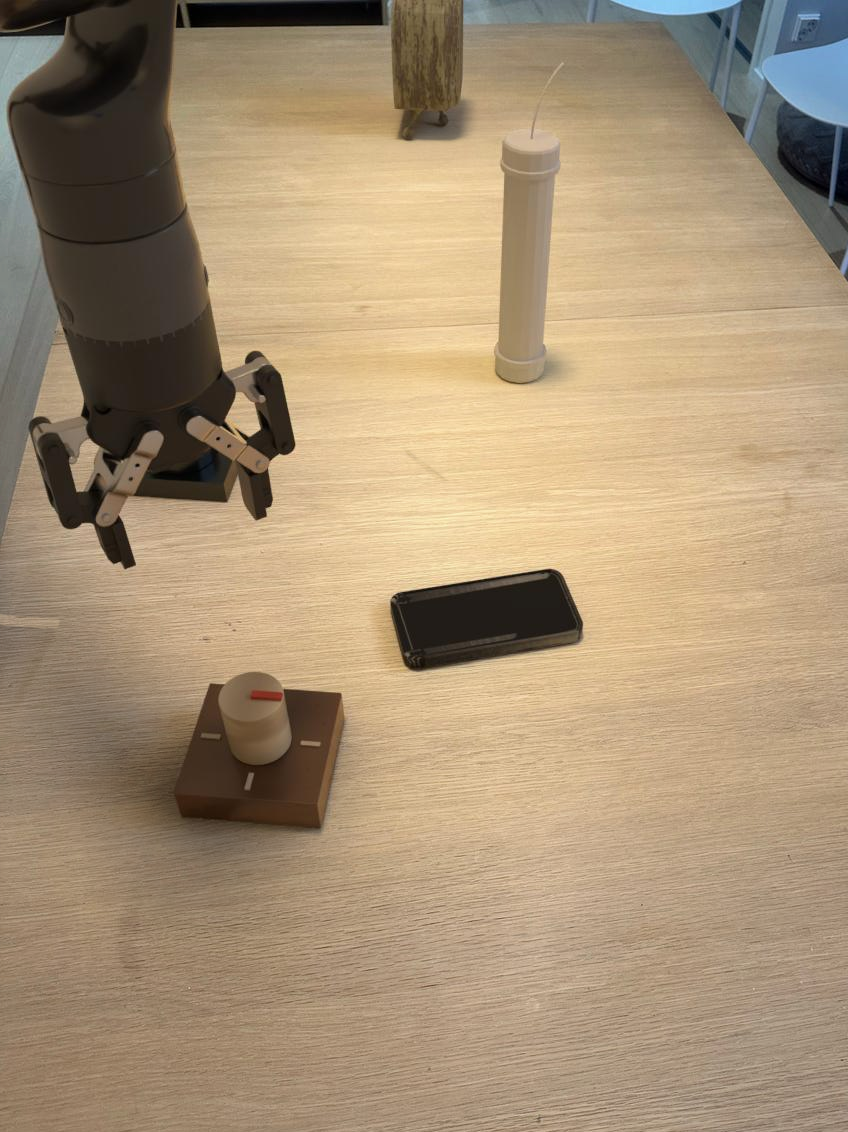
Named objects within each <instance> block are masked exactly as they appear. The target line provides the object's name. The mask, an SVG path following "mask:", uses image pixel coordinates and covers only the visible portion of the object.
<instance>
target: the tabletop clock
mask: <svg viewBox="0 0 848 1132" xmlns="http://www.w3.org/2000/svg"><path fill="white" fill-rule="evenodd" d="M390 37H391V39H390V40H391V41H390V42H391V69H392V70H391V72H392V90H393V91H392V93H393V106H394V109H395V110H412V113H411V117H410V119H409V124H408V126H405V127H404V128H403V129H402V135H403V137H404V138H405V139H407V140H409V139H411V138H413V137H414V135H415V131H414V128H413V127H414V125H415V124H416V121H417V120H418V117H419V115H420V114H421V113H423V111H436V112H437V111H438V113H439V115H438V116H437V122H438V124H439V125H440V126H442V127H444V126H446V125H448V124H449V116H448V115H447V114H445V113H444V112H446V111H448V110H451V109H452V108H454V107H457V106H458V105H459V104H460V102H461V95H462V88H463V87H462V85H463V76H464V75H463V71H464V70H463V69H464V0H391V8H390Z"/></svg>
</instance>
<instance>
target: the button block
mask: <svg viewBox="0 0 848 1132" xmlns="http://www.w3.org/2000/svg"><path fill="white" fill-rule="evenodd" d="M237 478H238V472H237V467H236V462H235V461H233V460H231V459H229V458H228V457H226V456H225V455H223V454H222V453H220V452H219V451H217V450H216V449H214V448H213V447H210V448H209V449H208V450H207V451H206V452H204V457H203V458H200V459H197V460H194V461H189V462H180V463H177V464H175V465H173V466H172V467H170V468H168V469H167V470H164V471H161V472H158V473H155V474H152V472H151V471H146V472H145V474H144V476H143V478H142V480H141V482H140V484H139V486H138V488H137V490H136V492H135V494H134V495H133V496H132V497H144V498H145V497H146V498H158V499H159V498H161V499H176V500H189V501H205V502H219V503H228V501H229V498H230V496H231V493H232V491H233V488H234V485H235V482H236V480H237Z"/></svg>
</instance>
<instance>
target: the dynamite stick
mask: <svg viewBox="0 0 848 1132" xmlns="http://www.w3.org/2000/svg"><path fill="white" fill-rule="evenodd" d="M564 65H565V62H564V61H561V63H560V64H559V65H558V66H557V67H556V69H555V70H554V72H552V74H551V76H550V77H549V79H548V81H547V82H546V84H545V86H544V88H543V89H542V92H541V95H540V97H539V99H538V102H537V105H536V108H535V112H534V116H533V119H532V124H531V127H530V128H520V129H515V130H512V131H510V132H508V133H506V134H505V136H504V137H503V139H502V145H501V146H502V147H501V158H500V160H499V161H500V162H499V167H500V170H501V171H502V172H503V173H504V174H503V178H504V179H503V199H502V201H503V202H502V204H503V205H502V228H501V229H502V230H501V231H502V232H501V256H500V259H501V260H500V286H499V311H498V312H499V313H498V341H497V342H496V344H495V346H494V347H493V353H494V357H495V358H494V368H495V372H496V374H497V375H498V376H499V377H500V378H501V379H503V380H506V381H507V382H510V383H518V384H522V383H524V384H525V383H530V382H533V381H536V380H538V379H539V378H540V377H541V376H542V375H543V372H544V370H545V362H546V361H545V360H546V357H547V353H548V352H547V348H546V345H545V344H544V337H545V323H546V312H547V311H546V309H547V296H548V281H549V267H550V251H551V239H552V226H553V223H552V222H553V212H554V197H555V196H554V195H555V183H556V182H555V181H556V175H557V174H559V171H560V169H561V160H560V155H561V142H560V139H559V136H557V134H556V135H555V133H553V132H551V131H548V130H544V129H540V128H535V126H536V125H535V124H536V120H537V116H538V112H539V110H540V106H541V103H542V100H543V98H544V96H545V93H546V91H547V89H548V87H549V85H550V83H551V82H552V81H553V79H554V77H555V76H556V74H557V73H558V72H559V70H560V69H561V68H562V67H563V66H564Z"/></svg>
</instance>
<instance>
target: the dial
mask: <svg viewBox="0 0 848 1132" xmlns="http://www.w3.org/2000/svg"><path fill="white" fill-rule="evenodd" d="M224 684H225V685H224V686H223V688H222V689H221V691H220V694H219V698H218V702H219V707H220V711H221V715H222V719H223V723H224V727H225V730H226V734H227V738H228V742H229V746H230V750H231V752H232V754H233V755H234V756H235V757H236V758H237V759H238V760H240V761H242V762H244V763H246V764H250V765H263V764H268V763H271V762H273V761H275V760H277V759H279V758H280V757H281V756H283V755H284V754H285V753H286V751H287V750H288V748H289V746H290V744H291V740H292V735H291V729H290V724H289V718H288V713H287V707H286V702H285V696H284V691H283V689H284V687H283V685H282V682H280V681H279V679H277V678H276V677H275V676H273V675H271V674H269V673H267V672H262V671H249V672H243V673H240V674H237V675H236V676H234V677H232V678H231V679H229V680H228V681H226V683H224Z"/></svg>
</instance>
